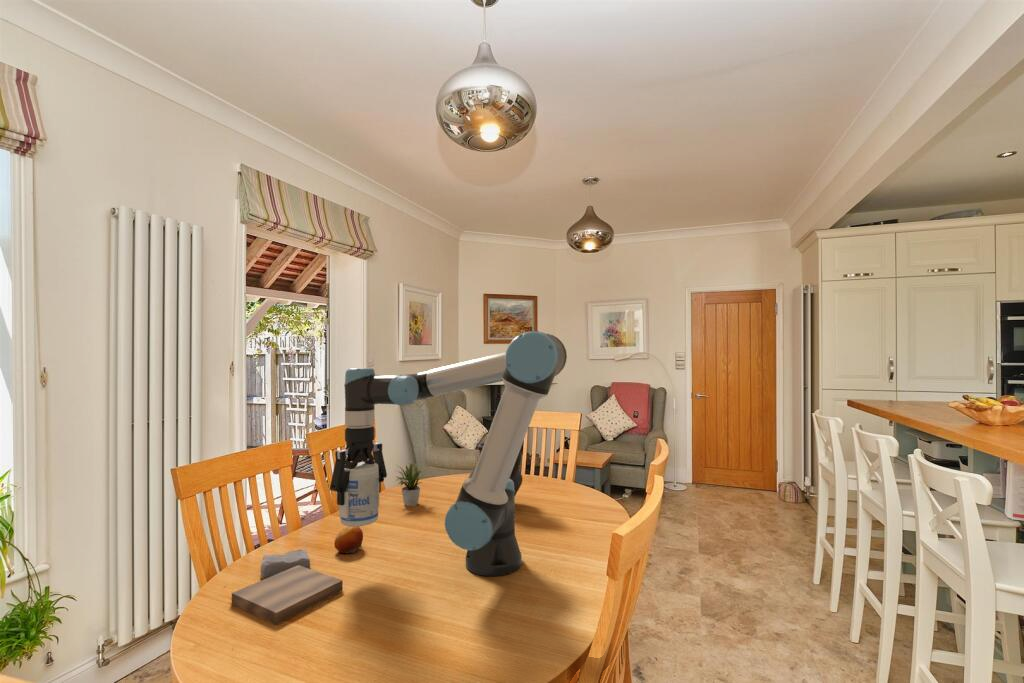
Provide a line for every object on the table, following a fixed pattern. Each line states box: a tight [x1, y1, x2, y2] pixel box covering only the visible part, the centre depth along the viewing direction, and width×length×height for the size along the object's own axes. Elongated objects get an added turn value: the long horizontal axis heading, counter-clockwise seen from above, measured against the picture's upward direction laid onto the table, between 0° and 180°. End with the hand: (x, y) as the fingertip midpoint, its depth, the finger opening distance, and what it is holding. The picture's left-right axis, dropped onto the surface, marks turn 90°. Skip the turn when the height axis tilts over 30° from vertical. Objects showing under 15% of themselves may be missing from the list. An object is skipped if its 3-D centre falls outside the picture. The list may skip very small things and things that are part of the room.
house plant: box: [395, 461, 427, 507], centre depth 184 cm, size 14×14×16 cm
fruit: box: [334, 526, 364, 554], centre depth 140 cm, size 8×8×8 cm
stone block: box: [260, 548, 311, 579], centre depth 129 cm, size 12×5×10 cm
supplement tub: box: [339, 461, 380, 528], centre depth 126 cm, size 10×10×15 cm
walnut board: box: [231, 565, 343, 626], centre depth 112 cm, size 17×17×2 cm
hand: (359, 511), depth 126 cm, fingers closed on supplement tub, 10 cm apart
